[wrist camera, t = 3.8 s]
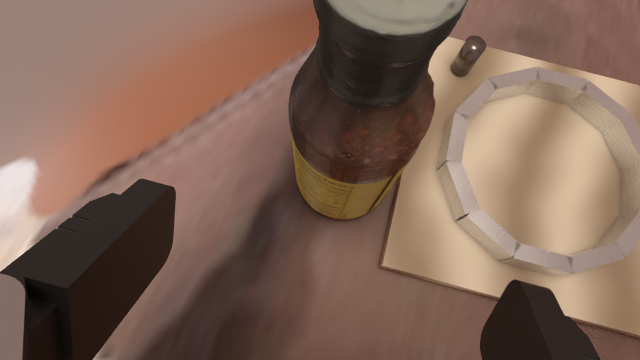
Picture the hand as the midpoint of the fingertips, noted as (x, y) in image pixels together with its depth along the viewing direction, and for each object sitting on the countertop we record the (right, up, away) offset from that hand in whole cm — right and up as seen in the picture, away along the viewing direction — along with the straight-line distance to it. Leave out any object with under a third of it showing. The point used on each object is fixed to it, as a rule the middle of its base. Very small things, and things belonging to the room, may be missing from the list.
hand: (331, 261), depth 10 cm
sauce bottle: (+1, +2, +20) cm, 20 cm away
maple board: (+15, +2, +20) cm, 25 cm away
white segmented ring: (+15, +3, +19) cm, 24 cm away
